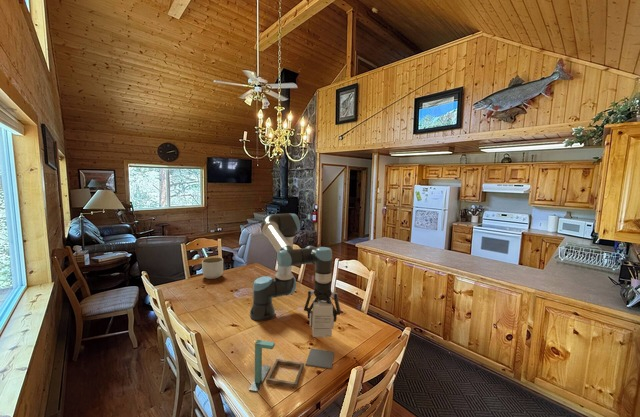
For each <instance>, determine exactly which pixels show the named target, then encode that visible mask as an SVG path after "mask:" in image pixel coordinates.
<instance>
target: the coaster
mask: <svg viewBox="0 0 640 417" xmlns="http://www.w3.org/2000/svg"><path fill="white" fill-rule="evenodd" d="M334 357H335V351H332V350H326V349H319V348H313V347H311V348H310V350H309V353H308V357H307V359H306V362H305V366H308V367H314V368H321V369H329V370H332V366H333V362H334Z"/></svg>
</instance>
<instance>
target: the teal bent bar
mask: <svg viewBox="0 0 640 417" xmlns="http://www.w3.org/2000/svg"><path fill="white" fill-rule="evenodd" d="M274 347H275V342H273V341H267V340H261V339H257V340H256V341H255V343H254V380H255V383H260V381H261V379H262V366H263V364H262V363H263V349H266V350H267V349H268V350H273V349H274Z"/></svg>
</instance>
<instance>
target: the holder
mask: <svg viewBox="0 0 640 417" xmlns="http://www.w3.org/2000/svg"><path fill="white" fill-rule="evenodd" d="M278 366H283V367H289V368H295V369H296V368H297V369H299V370H298V371H297V374H296V378H295V380H294V381H289V380H284V379H277V378H273V376H274V374H275V372H276V371H277V368H278ZM304 367H305V362H304V363H303V362H297V361H292V360H291V361H290V360H284V359H280V358H279V359H277V358H276V359H275V362H274V363H273V365H272V367H271V368H270V370H269V372H268V374H267V376H266V378H265V384H266V385H271V386H275V387H276V386H278V387H284V388H287V389H288V388H289V389H293V390H297V387H298V385H299V383H300V380H301V377H302V373H303V370H304V369H305V368H304Z"/></svg>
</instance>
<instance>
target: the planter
mask: <svg viewBox="0 0 640 417" xmlns="http://www.w3.org/2000/svg"><path fill="white" fill-rule="evenodd" d="M201 269H202V270H201V272H202V276H203V277H204V278H205V279H208V280H216V279H219V278H220V277H221V276H222V275H223V272H224V258H223V257H217V256H214V257H206V258H203V259H202V261H201Z"/></svg>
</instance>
